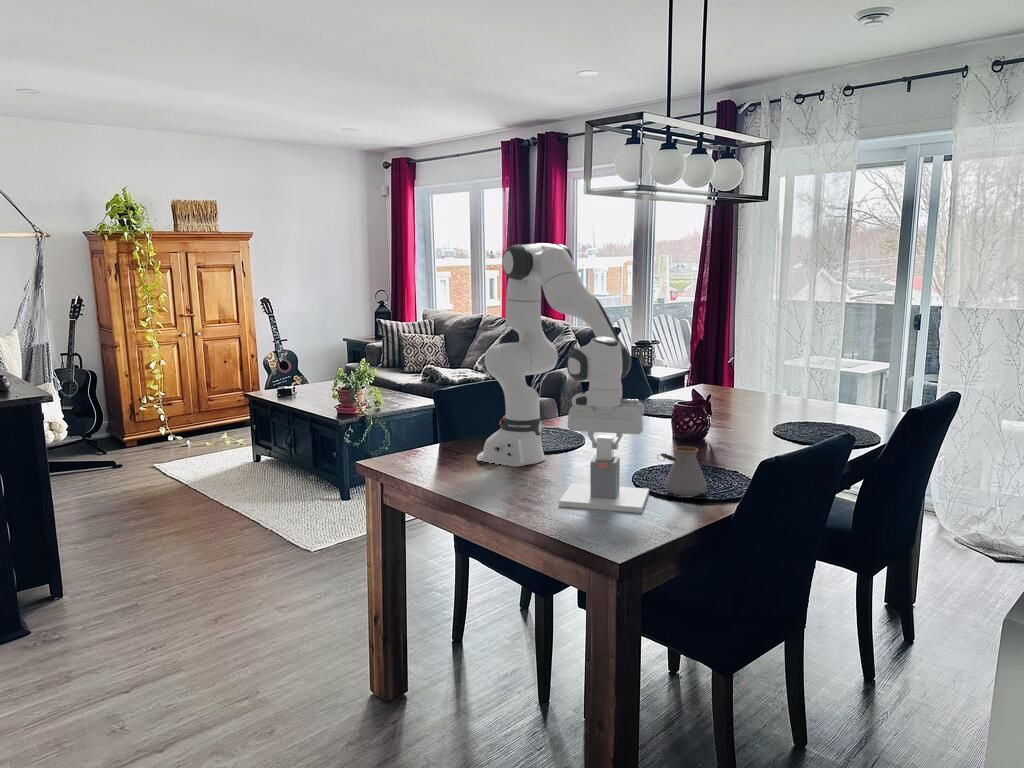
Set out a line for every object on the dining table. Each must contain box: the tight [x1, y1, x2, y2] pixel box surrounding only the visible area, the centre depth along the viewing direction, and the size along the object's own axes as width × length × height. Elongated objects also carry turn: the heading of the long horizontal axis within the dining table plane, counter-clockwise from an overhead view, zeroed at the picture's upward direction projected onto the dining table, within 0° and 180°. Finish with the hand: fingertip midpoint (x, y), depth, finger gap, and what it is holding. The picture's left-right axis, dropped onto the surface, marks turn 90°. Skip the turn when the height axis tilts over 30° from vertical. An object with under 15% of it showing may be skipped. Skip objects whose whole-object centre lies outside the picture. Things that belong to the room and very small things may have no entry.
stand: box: [558, 454, 650, 514], centre depth 200 cm, size 22×16×12 cm
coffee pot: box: [656, 445, 708, 496], centre depth 200 cm, size 21×12×15 cm, turn 142°
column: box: [596, 434, 615, 462], centre depth 199 cm, size 4×4×16 cm
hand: (605, 448), depth 198 cm, fingers closed on column, 4 cm apart
